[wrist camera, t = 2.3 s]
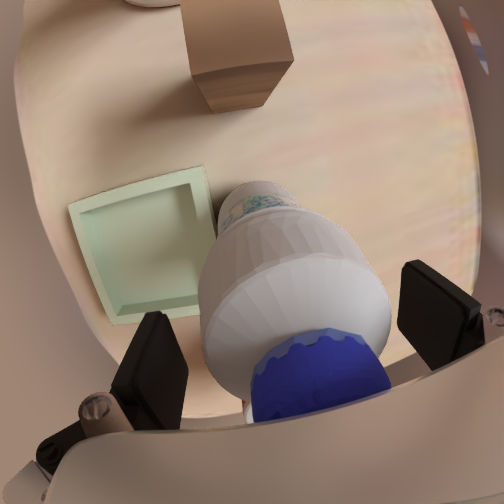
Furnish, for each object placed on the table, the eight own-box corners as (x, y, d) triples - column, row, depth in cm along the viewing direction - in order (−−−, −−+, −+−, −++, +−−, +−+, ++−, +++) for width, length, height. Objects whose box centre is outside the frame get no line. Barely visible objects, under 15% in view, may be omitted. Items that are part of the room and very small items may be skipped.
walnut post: (205, 70, 18) (179, 0, 7) (254, 62, 18) (274, -13, 7) (213, 114, 20) (191, 75, 9) (262, 105, 20) (294, 60, 9)
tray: (81, 199, 21) (67, 205, 19) (204, 164, 21) (200, 166, 19) (120, 311, 26) (112, 325, 23) (232, 294, 26) (232, 309, 23)
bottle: (309, 228, 24) (460, 418, 5) (243, 265, 25) (268, 504, 6) (271, 160, 22) (464, 230, 3) (201, 202, 22) (97, 416, 4)
